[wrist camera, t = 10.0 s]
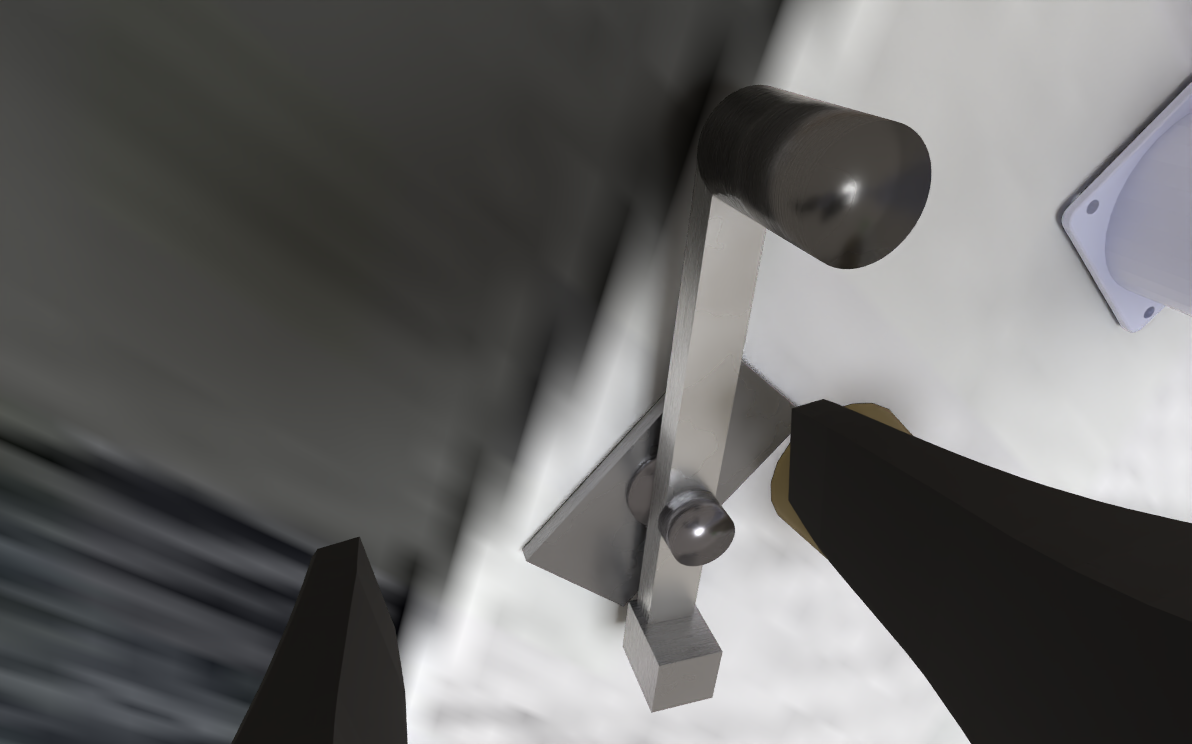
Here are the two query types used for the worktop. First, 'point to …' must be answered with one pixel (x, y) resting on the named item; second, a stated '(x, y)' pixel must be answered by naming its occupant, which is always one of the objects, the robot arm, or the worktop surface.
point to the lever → (720, 320)
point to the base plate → (648, 493)
